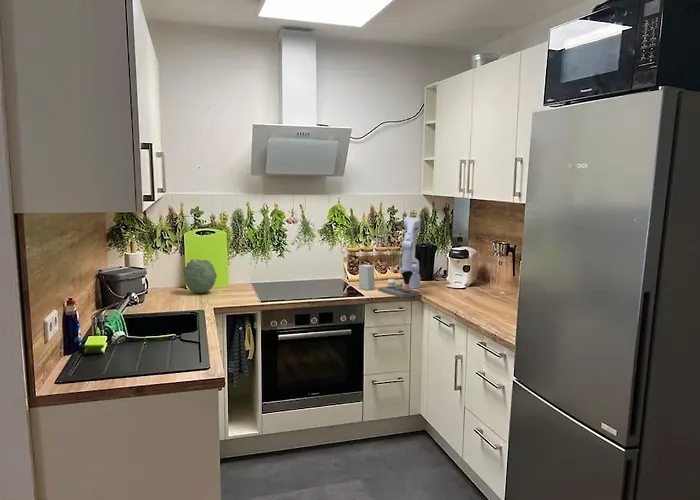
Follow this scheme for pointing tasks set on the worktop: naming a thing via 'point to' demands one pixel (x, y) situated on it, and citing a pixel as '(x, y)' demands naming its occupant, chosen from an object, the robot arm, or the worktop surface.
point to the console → (398, 291)
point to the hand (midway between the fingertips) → (406, 284)
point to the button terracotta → (406, 288)
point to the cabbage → (199, 275)
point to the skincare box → (366, 277)
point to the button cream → (391, 281)
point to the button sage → (398, 284)
